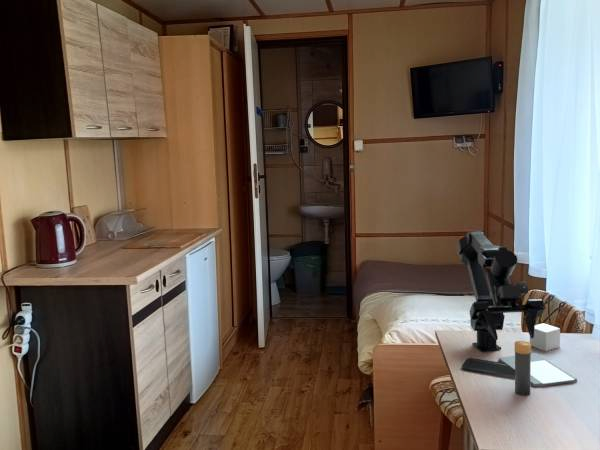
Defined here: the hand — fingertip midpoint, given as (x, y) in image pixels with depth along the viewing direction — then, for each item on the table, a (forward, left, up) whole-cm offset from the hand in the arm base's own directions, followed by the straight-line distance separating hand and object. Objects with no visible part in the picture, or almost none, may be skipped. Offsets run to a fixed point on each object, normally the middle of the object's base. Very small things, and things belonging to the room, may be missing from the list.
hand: (514, 338), depth 138 cm
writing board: (-5, +9, -12) cm, 16 cm away
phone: (-9, -2, -13) cm, 16 cm away
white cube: (-20, +22, -12) cm, 32 cm away
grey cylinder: (+6, -1, -12) cm, 13 cm away
